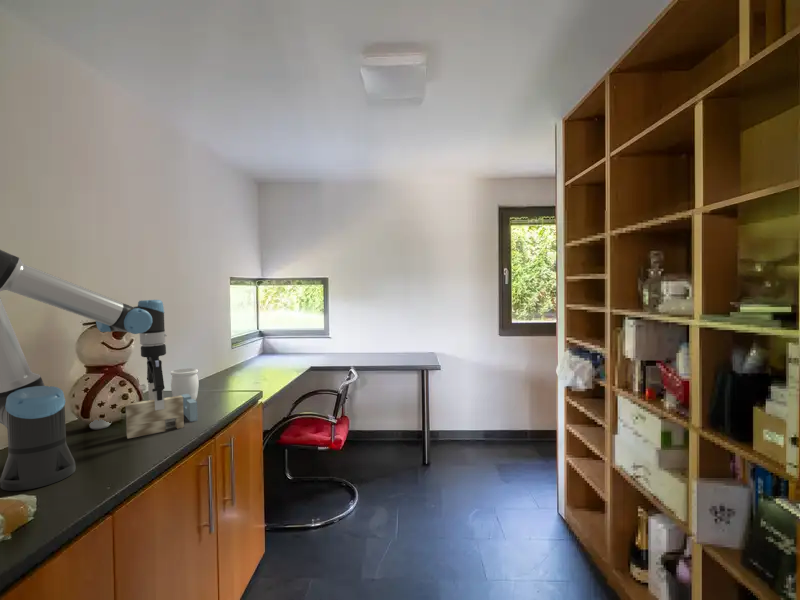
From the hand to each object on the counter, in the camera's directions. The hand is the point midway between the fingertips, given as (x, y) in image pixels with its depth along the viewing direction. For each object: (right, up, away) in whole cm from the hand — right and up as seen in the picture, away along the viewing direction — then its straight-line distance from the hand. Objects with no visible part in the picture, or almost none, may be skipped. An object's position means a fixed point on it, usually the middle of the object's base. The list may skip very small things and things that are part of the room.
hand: (156, 405), depth 147 cm
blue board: (+3, -9, +17) cm, 20 cm away
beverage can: (-24, -10, +6) cm, 26 cm away
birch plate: (0, -9, 0) cm, 9 cm away
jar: (-6, -8, +32) cm, 34 cm away
